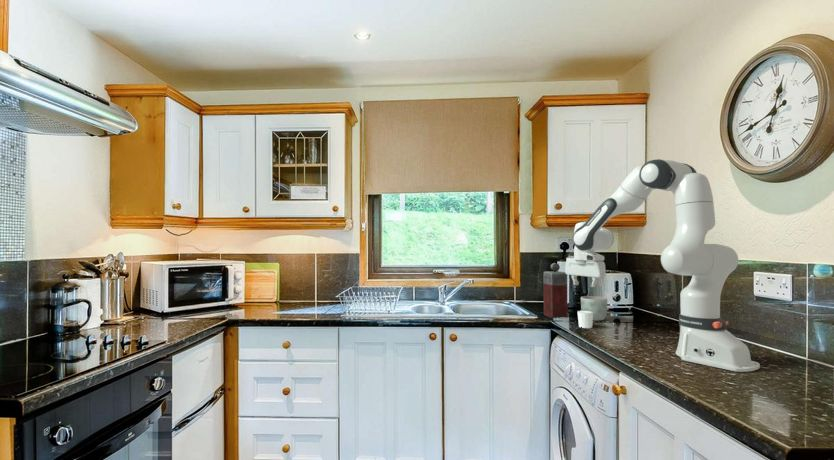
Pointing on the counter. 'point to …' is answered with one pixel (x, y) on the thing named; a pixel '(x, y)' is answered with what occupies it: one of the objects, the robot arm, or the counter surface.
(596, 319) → the planter
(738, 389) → the counter surface
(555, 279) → the red decanter
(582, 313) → the shot glass
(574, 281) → the robot arm
